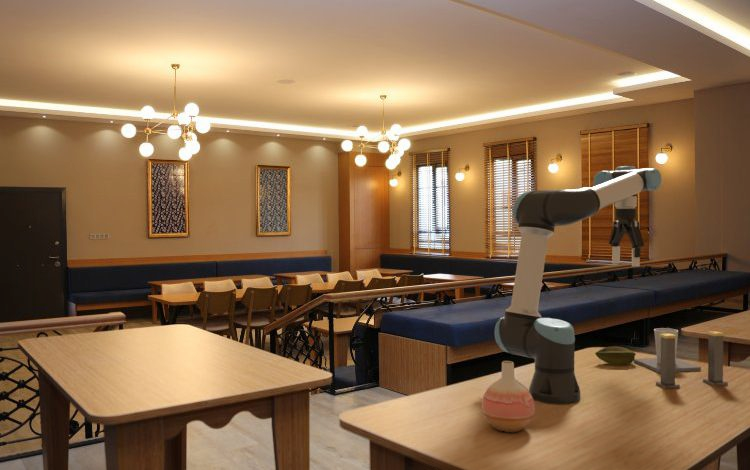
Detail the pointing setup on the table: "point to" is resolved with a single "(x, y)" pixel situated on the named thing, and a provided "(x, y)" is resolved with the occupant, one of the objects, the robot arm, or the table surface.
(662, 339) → the post
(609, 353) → the fruit
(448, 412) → the table surface
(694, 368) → the pad
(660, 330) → the cup
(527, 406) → the vase
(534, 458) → the table surface
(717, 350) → the post
